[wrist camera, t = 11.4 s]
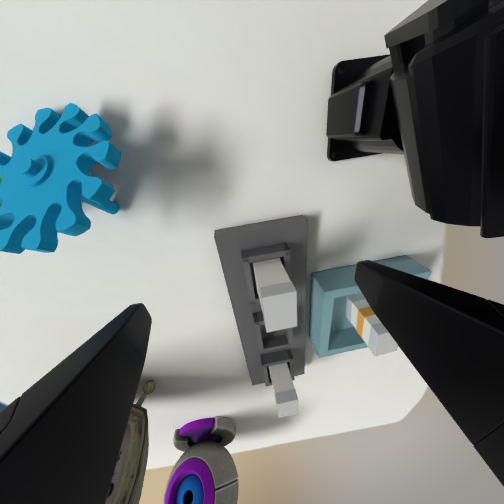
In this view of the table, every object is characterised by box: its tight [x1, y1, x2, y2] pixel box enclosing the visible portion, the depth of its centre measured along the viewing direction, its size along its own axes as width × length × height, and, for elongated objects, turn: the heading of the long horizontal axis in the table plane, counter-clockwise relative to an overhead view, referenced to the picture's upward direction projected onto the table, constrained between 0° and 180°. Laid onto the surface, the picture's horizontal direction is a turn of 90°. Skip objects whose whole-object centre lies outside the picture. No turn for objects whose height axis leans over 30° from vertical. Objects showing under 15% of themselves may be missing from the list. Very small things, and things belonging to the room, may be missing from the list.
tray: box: [309, 255, 431, 357], centre depth 26 cm, size 12×12×4 cm
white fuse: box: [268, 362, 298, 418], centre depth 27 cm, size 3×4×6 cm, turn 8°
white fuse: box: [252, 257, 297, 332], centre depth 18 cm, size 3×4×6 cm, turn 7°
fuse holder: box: [214, 215, 307, 386], centre depth 25 cm, size 9×28×3 cm, turn 8°
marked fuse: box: [346, 293, 398, 356], centre depth 24 cm, size 3×4×6 cm, turn 13°
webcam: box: [164, 417, 238, 504], centre depth 36 cm, size 13×13×15 cm
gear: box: [0, 103, 121, 254], centre depth 14 cm, size 11×6×10 cm
